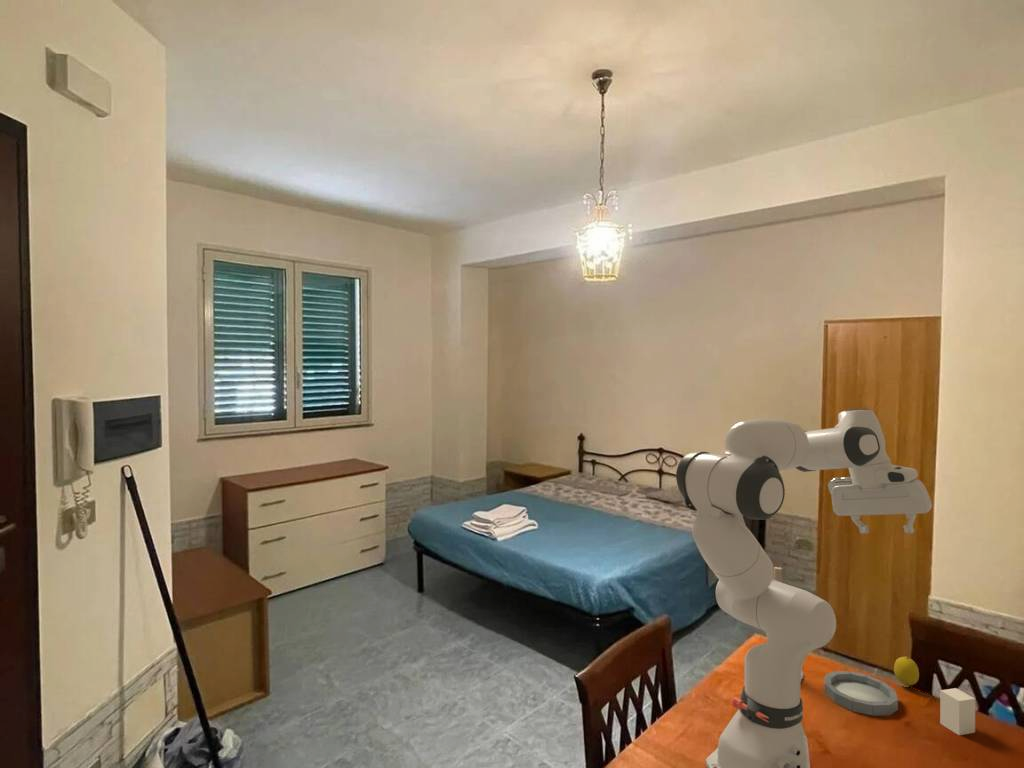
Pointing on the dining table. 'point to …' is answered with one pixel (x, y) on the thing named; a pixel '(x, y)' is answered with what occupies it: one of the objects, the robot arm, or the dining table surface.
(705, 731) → the dining table surface
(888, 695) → the dish
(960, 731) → the block
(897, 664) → the lemon
